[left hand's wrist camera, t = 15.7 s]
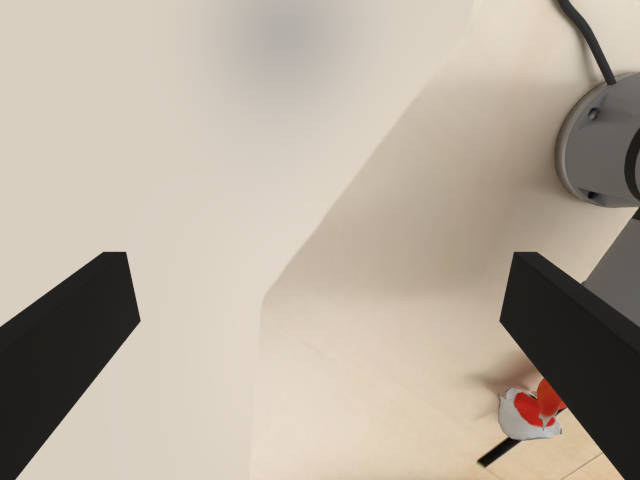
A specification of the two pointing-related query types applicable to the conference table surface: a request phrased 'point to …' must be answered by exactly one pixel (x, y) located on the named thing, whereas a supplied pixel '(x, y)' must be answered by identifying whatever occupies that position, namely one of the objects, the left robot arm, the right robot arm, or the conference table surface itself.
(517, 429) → the fish
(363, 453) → the conference table surface
